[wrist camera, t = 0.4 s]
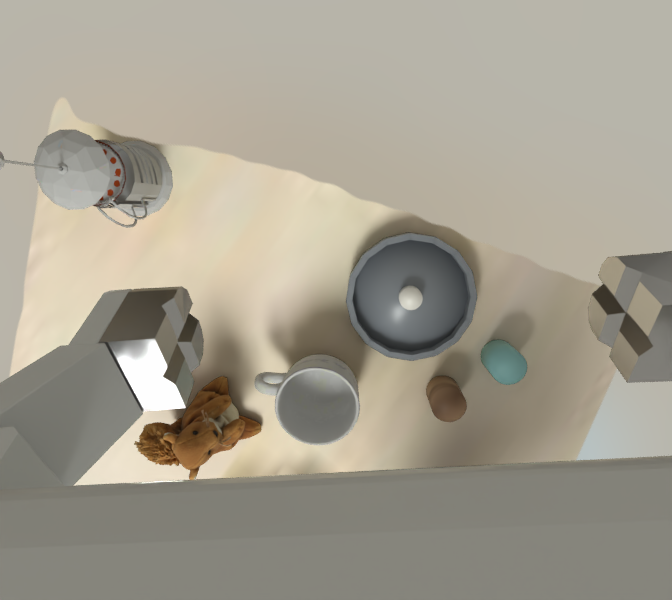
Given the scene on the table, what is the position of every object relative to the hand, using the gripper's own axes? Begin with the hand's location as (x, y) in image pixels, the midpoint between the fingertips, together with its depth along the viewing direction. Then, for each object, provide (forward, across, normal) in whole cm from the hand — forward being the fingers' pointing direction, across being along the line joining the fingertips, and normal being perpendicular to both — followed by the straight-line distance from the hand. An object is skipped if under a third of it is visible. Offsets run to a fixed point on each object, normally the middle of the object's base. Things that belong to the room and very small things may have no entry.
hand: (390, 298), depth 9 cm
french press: (+50, -28, -17) cm, 60 cm away
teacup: (+37, -8, -42) cm, 57 cm away
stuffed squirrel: (+35, -24, -47) cm, 63 cm away
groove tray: (+41, +6, -32) cm, 53 cm away
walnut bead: (+35, +10, -45) cm, 58 cm away
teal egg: (+37, +18, -40) cm, 58 cm away
